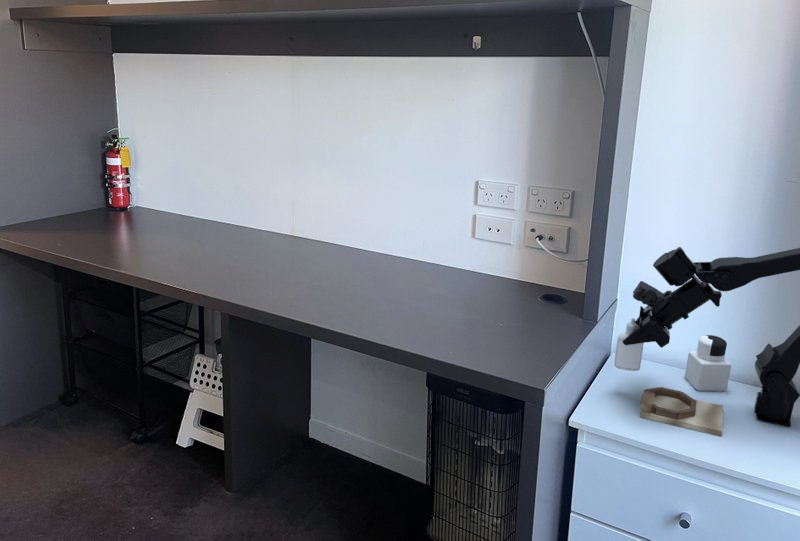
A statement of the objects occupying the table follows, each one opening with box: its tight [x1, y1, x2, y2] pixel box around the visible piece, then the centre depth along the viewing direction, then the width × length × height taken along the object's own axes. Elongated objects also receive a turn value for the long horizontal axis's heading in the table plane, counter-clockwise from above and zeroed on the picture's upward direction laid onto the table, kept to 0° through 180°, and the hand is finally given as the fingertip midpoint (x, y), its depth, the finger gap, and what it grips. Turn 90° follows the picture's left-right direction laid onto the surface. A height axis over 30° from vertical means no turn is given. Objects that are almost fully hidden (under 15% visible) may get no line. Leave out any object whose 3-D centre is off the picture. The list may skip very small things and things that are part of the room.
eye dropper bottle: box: [613, 317, 644, 372], centre depth 150 cm, size 4×6×12 cm
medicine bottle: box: [684, 334, 732, 392], centre depth 157 cm, size 7×7×12 cm
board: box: [639, 386, 724, 437], centre depth 145 cm, size 16×12×5 cm
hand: (624, 340), depth 151 cm, fingers closed on eye dropper bottle, 3 cm apart
